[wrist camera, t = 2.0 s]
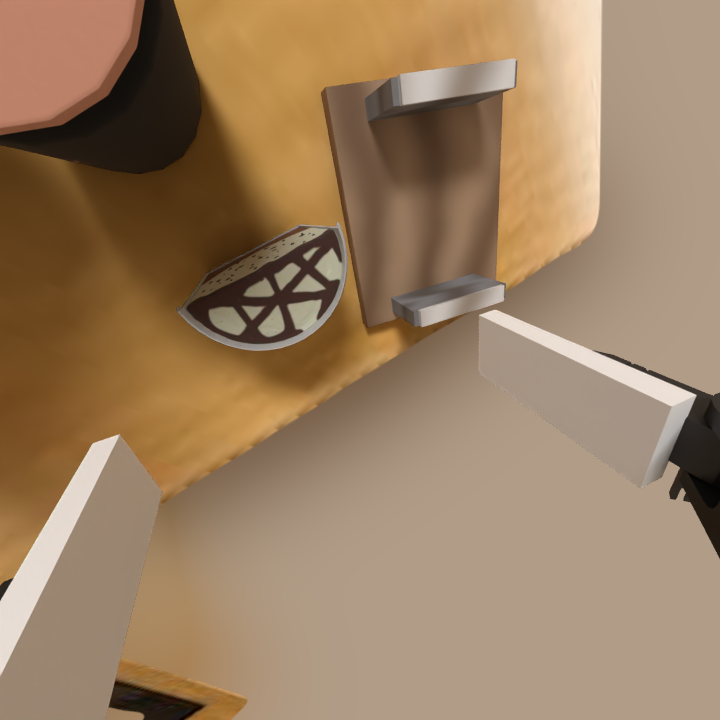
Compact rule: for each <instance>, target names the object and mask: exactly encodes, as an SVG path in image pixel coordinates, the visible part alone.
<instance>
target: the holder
mask: <svg viewBox="0 0 720 720" xmlns="http://www.w3.org/2000/svg"><path fill="white" fill-rule="evenodd" d="M516 77H517V61H516V58H515V59H507V60H500V61H493V62H485V63H478V64H471V65H463V66H456V67H449V68H441V69H434V70H427V71H419V72H412V73H405V74H400V75H398V77H395V78H389V79H382V80H375V81H367V82H360V83H353V84H346V85H338V86H331V87H325V89H324V90H323V91H322V92H321V95H322V101H323V106H324V112H325V117H326V123H327V128H328V134H329V139H330V144H331V150H332V155H333V161H334V166H335V172H336V177H337V183H338V188H339V193H340V199H341V204H342V210H343V215H344V221H345V226H346V232H347V237H348V242H349V248H350V253H351V259H352V264H353V270H354V275H355V280H356V286H357V291H358V297H359V302H360V308H361V313H362V319H363V323H364V324H365V325H366V326H367V327H368V328H369V327H372V326H375V325H379V324H382V323H385V322H388V321H392V320H395V319H398V318H401V317H402V318H403V319H404V320H406V321H407V322H409V323H410V324H412V325H413V326H414V327H416V326H419V325H420V326H421V327H424V326H428V325H431V324H434V323H437V322H440V321H443V320H446V319H449V318H452V317H456V316H459V315H462V314H465V313H468V312H471V311H474V310H477V309H481V308H484V307H487V306H490V305H493V304H496V303H499V302H502V301H503V300H504V298H505V288H506V283H502V282H499V281H496V265H497V237H498V210H499V183H500V155H501V128H502V101H503V92H505V91H508V90H510V89H513V88H515V87H516Z"/></svg>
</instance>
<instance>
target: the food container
mask: <svg viewBox="0 0 720 720" xmlns="http://www.w3.org/2000/svg"><path fill="white" fill-rule="evenodd" d="M336 225H337V226H336V227H333V226H318V225H303V224H299V225H298V226H296V227H294V228H292V229H290V230H288V231H286V232H284V233H282V234H280V235H278V236H276V237H275V238H273V239H271V240H269V241H267V242H265V243H263V244H261V245H259V246H257V247H255V248H253V249H252V250H250V251H248V252H246V253H244V254H242V255H240V256H238V257H236V258H234V259H232V260H230V261H229V262H227V263H225V264H223V265H221V266H219V267H217V268H215V269H213V270H211V271H209V272H208V273H206V274H205V275H204V277H203V278H202V280H201V281H200V282H199V284H198V285H197V287H196V288H195V289H194V291H193V292H192V294H191V295H190V296H189V298H188V299H187V301H186V302H185V304H184V305H183V306H182V308H180V307H179V306H177V307H176V310H177V312H178V313H179V314H180V315H181V316H182V318H183V319H184V320H185V321H186V322H187V323H189V324H190V325H191V326H192V327H194V328H195V329H196V330H197V331H199V332H200V333H202V334H204V335H205V336H207V337H209V338H210V339H212V340H214V341H217V342H219V343H221V344H224V345H227V346H230V347H234V348H238V349H244V350H252V351H264V350H273V349H280V348H283V347H286V346H290V345H293V344H295V343H297V342H299V341H301V340H303V339H305V338H306V337H308V336H309V335H311V334H313V333H314V332H315V331H316V330H317V329H319V328H320V327H321V326H322V325H323V324H324V323H325V322H326V320H327V319H328V318H329V317H330V316H331V314H332V313H333V311H334V310H335V308H336V306H337V305H338V303H339V300H340V298H341V296H342V293H343V290H344V286H345V282H346V277H347V267H348V263H347V249H346V244H345V239H344V236H343V233H342V230H341V227H340V224H339V223H338V222H337V223H336Z"/></svg>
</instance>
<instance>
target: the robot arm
mask: <svg viewBox="0 0 720 720" xmlns="http://www.w3.org/2000/svg"><path fill="white" fill-rule="evenodd" d="M479 374H481V375H482V376H483V377H485V378H486V379H488V380H489V381H490V382H492V383H493V384H495V385H496V386H498V387H499V388H500V389H502V390H503V391H504V392H506V393H507V394H509V395H510V396H511V397H513V398H514V399H516V400H517V401H518V402H520V403H521V404H523V405H524V406H525V407H527V408H528V409H530V410H531V411H532V412H534V413H535V414H537V415H538V416H539V417H541V418H542V419H544V420H545V421H546V422H548V423H549V424H551V425H552V426H553V427H555V428H556V429H558V430H559V431H560V432H562V433H563V434H565V435H566V436H567V437H569V438H570V439H572V440H573V441H574V442H576V443H577V444H579V445H580V446H581V447H583V448H584V449H586V450H587V451H588V452H590V453H591V454H593V455H594V456H595V457H597V458H598V459H600V460H601V461H602V462H604V463H605V464H607V465H608V466H609V467H611V468H612V469H614V470H615V471H616V472H618V473H619V474H621V475H622V476H623V477H625V478H626V479H628V480H629V481H630V482H632V483H633V484H635V485H636V486H637V487H639V488H642V487H644V486H646V485H648V484H650V483H652V482H653V481H656V480H658V479H659V478H661V477H662V476H663V473H664V471H665V468H666V466H667V464H668V462H669V461H671V462H672V463H674V464H675V465H677V466H679V467H680V469H679V471H678V474H677V476H676V478H675V480H674V483H673V485H672V487H671V489H670V491H669V494H670V499H674V500H675V499H676V498H677V496H678V494H679V492H680V490H681V488H684V490H685V492H686V494H685V496H684V501H687V502H691V504H692V506H693V508H694V510H695V511H696V514H697V516H698V517H699V519H700V521H701V523H702V525H703V527H704V529H705V531H706V533H707V535H708V537H709V539H710V540H711V543H712V544H713V546H714V548H715V550H716V552H717V554H718V556H719V558H720V393H718V394H715V395H714V396H713V395H710V394H707V393H705V392H702V391H700V390H697V389H695V388H692V387H690V386H687V385H685V384H682V383H680V382H678V381H675V380H673V379H670V378H668V377H666V376H663V375H661V374H658V373H656V372H653V371H651V370H649V371H647V370H646V368H644V367H641V366H639V365H636V364H631V362H629V361H627V360H624V359H622V358H619V357H617V356H615V355H611V354H606V353H602V352H598V351H593V350H589V349H587V348H585V347H582V346H580V345H578V344H575V343H573V342H570V341H568V340H565V339H563V338H561V337H559V336H556V335H554V334H551V333H549V332H546V331H544V330H542V329H540V328H537V327H535V326H533V325H530V324H528V323H526V322H523V321H521V320H519V319H516V318H514V317H511V316H509V315H507V314H504V313H502V312H500V311H497V310H493V311H490V312H487V313H484V314H481V315H479ZM161 495H162V490H161V489H160V488H159V486H158V485H157V484H156V482H155V481H154V480H153V478H152V477H151V476H150V474H149V473H148V472H147V470H146V469H145V467H144V466H143V465H142V463H141V462H140V461H139V459H138V458H137V457H136V455H135V454H134V453H133V451H132V450H131V449H130V447H129V446H128V444H127V443H126V442H125V440H124V439H123V438H122V436H121V435H120V434H119V435H116V436H113V437H110V438H107V439H104V440H101V441H98V442H95V443H93V444H92V446H91V447H90V449H89V451H88V453H87V454H86V456H85V458H84V459H83V461H82V463H81V464H80V466H79V468H78V470H77V471H76V473H75V475H74V476H73V478H72V480H71V481H70V483H69V485H68V487H67V488H66V490H65V492H64V493H63V495H62V497H61V499H60V500H59V502H58V504H57V505H56V507H55V509H54V510H53V512H52V514H51V516H50V517H49V519H48V521H47V522H46V524H45V526H44V527H43V529H42V531H41V533H40V534H39V536H38V538H37V539H36V541H35V543H34V545H33V546H32V548H31V550H30V551H29V553H28V555H27V556H26V558H25V560H24V562H23V563H22V565H21V567H20V568H19V570H18V572H17V573H16V575H15V577H14V578H12V579H10V580H7V581H4V582H3V583H2V584H1V586H0V720H105V718H106V714H107V710H108V706H109V702H110V698H111V694H112V690H113V686H114V682H115V678H116V674H117V670H118V666H119V662H120V658H121V654H122V650H123V646H124V642H125V638H126V634H127V630H128V627H129V623H130V619H131V615H132V611H133V606H134V602H135V599H136V595H137V590H138V587H139V583H140V579H141V575H142V571H143V567H144V563H145V558H146V555H147V551H148V547H149V542H150V539H151V535H152V531H153V527H154V523H155V519H156V515H157V511H158V507H159V503H160V499H161Z"/></svg>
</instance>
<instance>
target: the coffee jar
mask: <svg viewBox="0 0 720 720" xmlns="http://www.w3.org/2000/svg"><path fill="white" fill-rule="evenodd" d="M200 115H201V101H200V89H199V80H198V77H197V74H196V71H195V67H194V64H193V61H192V58H191V55H190V51H189V48H188V45H187V42H186V39H185V35H184V32H183V29H182V26H181V23H180V19H179V16H178V13H177V10H176V7H175V3H174V0H0V145H3V146H7V147H11V148H16V149H20V150H24V151H29V152H33V153H37V154H42V155H46V156H50V157H54V158H59V159H63V160H67V161H72V162H76V163H80V164H85V165H89V166H93V167H98V168H102V169H106V170H111V171H118V172H126V173H134V174H142V173H147V172H152V171H157V170H162V169H164V168H166V167H167V166H169V165H170V164H172V163H173V162H175V161H176V160H178V159H179V158H181V157H183V155H184V154H185V152H186V151H187V149H188V148H189V146H190V145H191V143H192V142H193V140H194V139H195V137H196V133H197V128H198V124H199V120H200Z"/></svg>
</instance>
